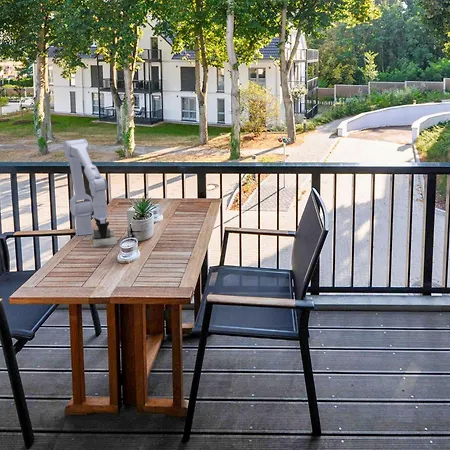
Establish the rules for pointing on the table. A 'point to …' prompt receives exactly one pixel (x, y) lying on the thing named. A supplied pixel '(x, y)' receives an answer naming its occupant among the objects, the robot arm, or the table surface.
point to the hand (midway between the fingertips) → (102, 235)
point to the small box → (130, 214)
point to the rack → (103, 240)
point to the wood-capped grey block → (97, 234)
